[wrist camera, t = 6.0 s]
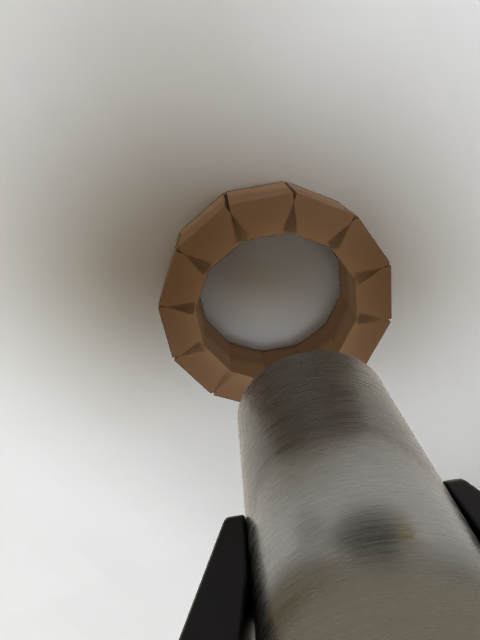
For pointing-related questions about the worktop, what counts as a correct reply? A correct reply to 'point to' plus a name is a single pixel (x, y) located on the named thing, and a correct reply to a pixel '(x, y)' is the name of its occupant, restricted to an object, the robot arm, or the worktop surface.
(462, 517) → the grey metal peg
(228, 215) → the brown segmented ring
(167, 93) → the worktop surface
